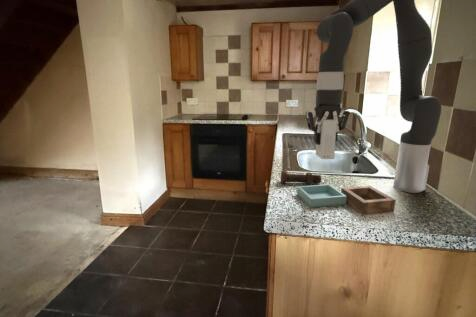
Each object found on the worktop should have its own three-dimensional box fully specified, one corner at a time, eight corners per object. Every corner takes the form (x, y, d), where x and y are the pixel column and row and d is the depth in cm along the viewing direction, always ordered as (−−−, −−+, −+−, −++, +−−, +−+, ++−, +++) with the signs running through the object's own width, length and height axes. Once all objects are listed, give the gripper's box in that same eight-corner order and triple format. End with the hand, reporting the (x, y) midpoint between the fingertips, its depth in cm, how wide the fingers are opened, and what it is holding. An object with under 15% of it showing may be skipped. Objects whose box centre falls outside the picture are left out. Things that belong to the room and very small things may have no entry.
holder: (368, 196, 95) (370, 185, 94) (393, 212, 84) (395, 199, 83) (340, 199, 93) (341, 187, 92) (362, 215, 82) (363, 202, 81)
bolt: (320, 189, 107) (281, 187, 108) (318, 179, 111) (280, 177, 111) (323, 179, 103) (283, 177, 103) (321, 169, 107) (282, 167, 107)
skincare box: (334, 159, 86) (338, 120, 83) (320, 159, 86) (323, 120, 83) (327, 154, 92) (330, 117, 89) (314, 154, 92) (316, 117, 89)
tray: (328, 192, 99) (329, 184, 98) (345, 204, 89) (346, 196, 88) (296, 194, 97) (297, 186, 96) (310, 208, 87) (311, 199, 86)
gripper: (344, 87, 88) (339, 140, 93) (302, 88, 86) (299, 142, 90) (358, 88, 81) (352, 145, 86) (312, 88, 79) (309, 147, 83)
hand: (325, 143), depth 88 cm, fingers closed on skincare box, 4 cm apart
